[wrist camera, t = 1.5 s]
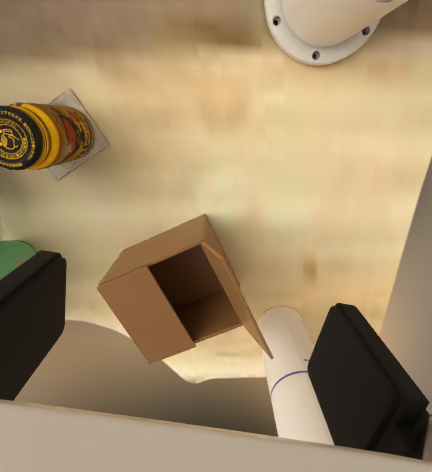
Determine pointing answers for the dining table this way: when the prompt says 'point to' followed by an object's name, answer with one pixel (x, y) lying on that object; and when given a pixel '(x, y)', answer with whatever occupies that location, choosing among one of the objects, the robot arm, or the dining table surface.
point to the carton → (170, 291)
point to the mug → (13, 255)
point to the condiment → (48, 135)
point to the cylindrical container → (291, 377)
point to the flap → (236, 297)
